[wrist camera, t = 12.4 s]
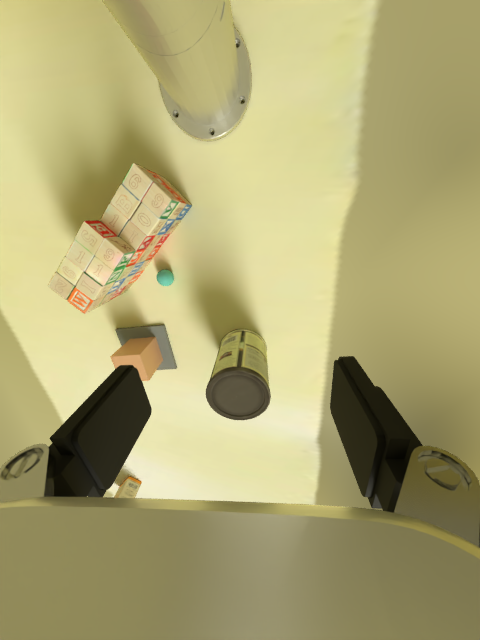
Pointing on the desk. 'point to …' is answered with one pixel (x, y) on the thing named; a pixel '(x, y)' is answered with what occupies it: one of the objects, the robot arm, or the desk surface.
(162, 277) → the ball
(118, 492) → the supplement box
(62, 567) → the robot arm
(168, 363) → the mat
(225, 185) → the desk surface
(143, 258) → the stack of blocks
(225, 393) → the coffee can
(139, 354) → the tan cardboard-coloured cube
